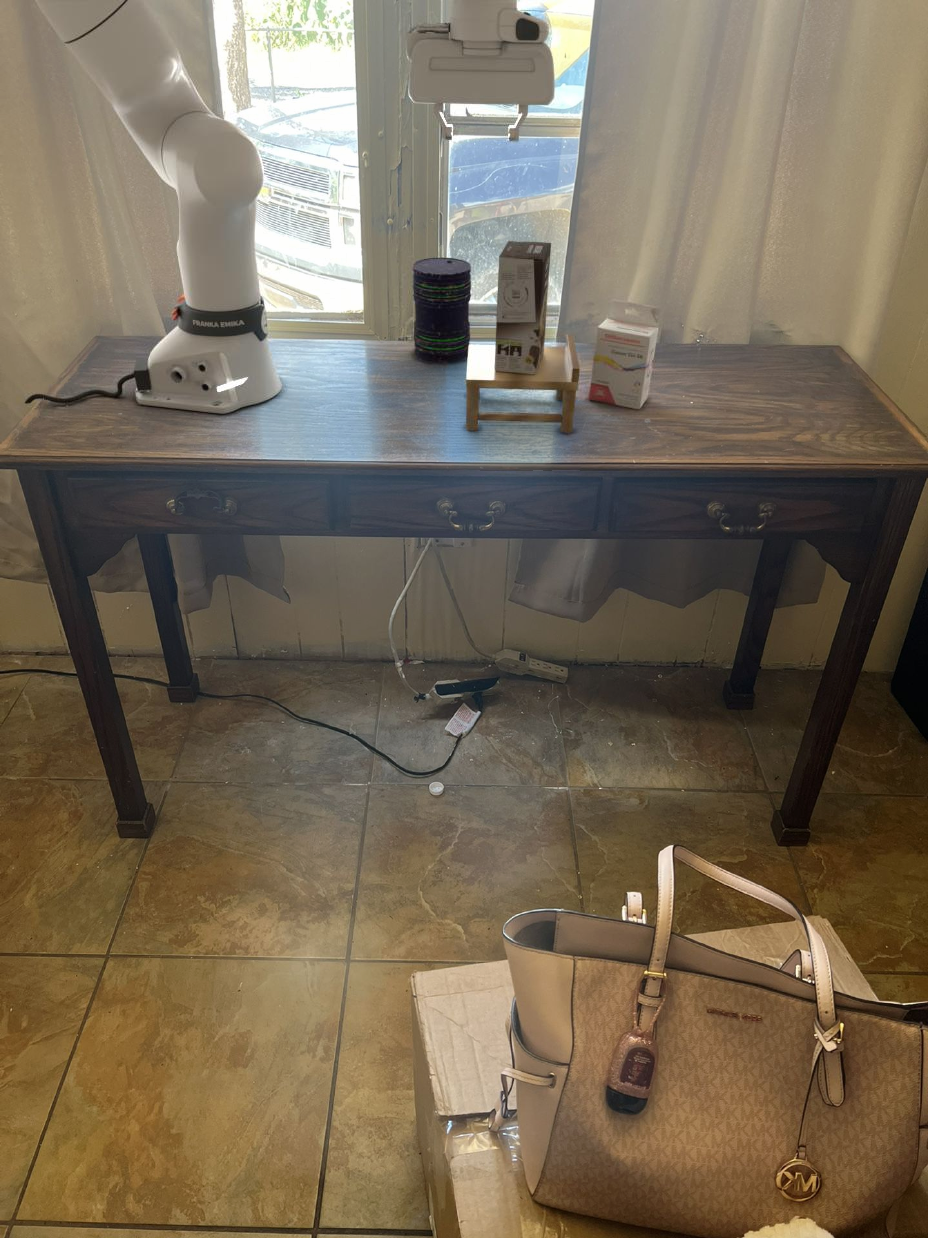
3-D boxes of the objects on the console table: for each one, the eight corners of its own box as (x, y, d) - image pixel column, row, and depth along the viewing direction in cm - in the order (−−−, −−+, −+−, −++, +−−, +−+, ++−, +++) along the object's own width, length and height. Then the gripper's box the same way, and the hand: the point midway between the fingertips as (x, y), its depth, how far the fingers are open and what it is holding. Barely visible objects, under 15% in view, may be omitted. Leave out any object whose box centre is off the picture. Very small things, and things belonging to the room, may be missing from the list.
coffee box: (537, 375, 128) (544, 258, 118) (493, 371, 129) (497, 255, 119) (545, 353, 135) (553, 241, 125) (503, 349, 136) (508, 238, 126)
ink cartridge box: (587, 400, 141) (597, 306, 132) (597, 389, 144) (607, 297, 135) (640, 410, 138) (653, 315, 129) (648, 398, 141) (662, 305, 132)
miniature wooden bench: (465, 431, 131) (466, 365, 125) (467, 393, 142) (468, 331, 136) (573, 434, 131) (579, 368, 125) (567, 395, 142) (573, 333, 136)
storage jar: (454, 367, 150) (455, 277, 141) (403, 358, 154) (401, 268, 145) (479, 349, 158) (481, 261, 149) (429, 340, 161) (429, 254, 152)
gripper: (403, 23, 116) (405, 142, 124) (559, 26, 115) (552, 145, 124) (406, 20, 121) (409, 134, 129) (557, 23, 120) (549, 137, 129)
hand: (480, 140), depth 126 cm, fingers open, 8 cm apart
